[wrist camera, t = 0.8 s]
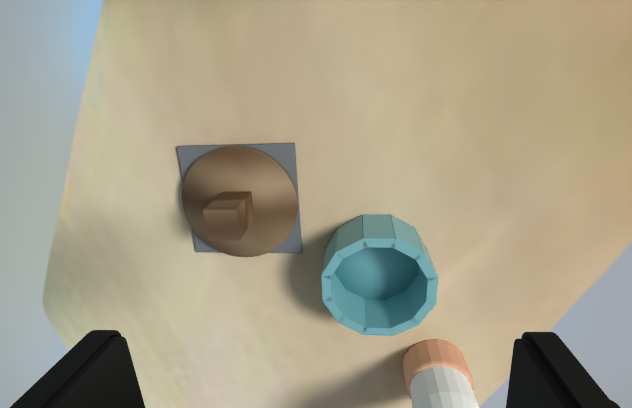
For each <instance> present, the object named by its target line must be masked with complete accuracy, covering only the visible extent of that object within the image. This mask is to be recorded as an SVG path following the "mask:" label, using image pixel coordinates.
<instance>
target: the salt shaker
mask: <svg viewBox="0 0 632 408" xmlns="http://www.w3.org/2000/svg"><path fill="white" fill-rule="evenodd" d="M402 363H403V370H404V376H405V383H406V389H407V393H408V395H409V396H410V398H411V400H412V407H413V408H479V406H478V403H477V401H476V398H475V395H474V393H473V380H472V377H471V374H470V372H469V369H468V366H467V363H466V361H465V358H464V356H463V354H462V352H461V351H460V350H459V349H458V348H457V347H456V346H455V345H453V344H451V343H449V342H446V341H441V340H426V341H423V342H420V343H417V344H415V345H414V346H412V347H411V348H409V350H408V351H407V352H406V354H405V355H404V358H403V362H402Z"/></svg>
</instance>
